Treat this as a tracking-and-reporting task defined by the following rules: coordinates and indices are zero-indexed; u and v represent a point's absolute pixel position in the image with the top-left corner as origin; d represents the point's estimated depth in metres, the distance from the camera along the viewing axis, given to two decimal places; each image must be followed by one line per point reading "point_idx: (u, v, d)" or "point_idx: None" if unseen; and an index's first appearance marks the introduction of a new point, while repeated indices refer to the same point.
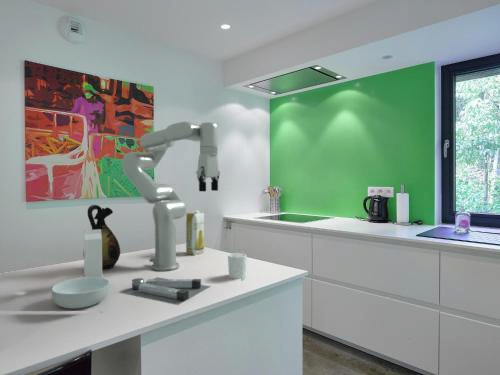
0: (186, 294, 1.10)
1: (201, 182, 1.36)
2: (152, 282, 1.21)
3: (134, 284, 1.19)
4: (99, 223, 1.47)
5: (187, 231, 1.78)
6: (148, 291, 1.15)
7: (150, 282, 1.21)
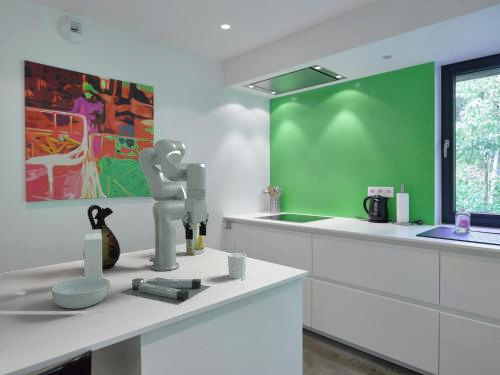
0: (186, 294, 1.10)
1: (187, 230, 1.24)
2: (152, 282, 1.21)
3: (134, 284, 1.19)
4: (99, 223, 1.47)
5: None
6: (148, 291, 1.15)
7: (150, 282, 1.21)
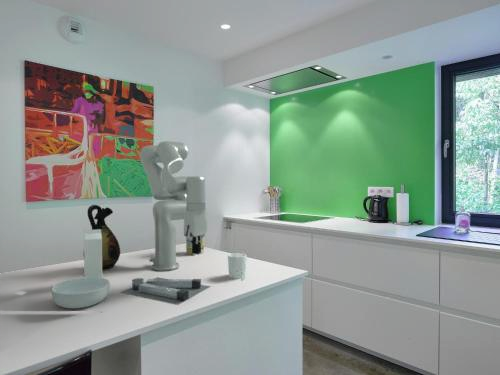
0: (186, 294, 1.10)
1: (194, 244, 1.28)
2: (152, 282, 1.21)
3: (134, 284, 1.19)
4: (99, 223, 1.47)
5: None
6: (148, 291, 1.15)
7: (150, 282, 1.21)
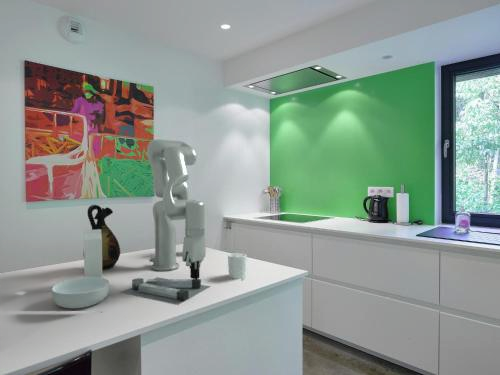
0: (186, 294, 1.10)
1: (193, 269, 1.28)
2: (152, 282, 1.21)
3: (134, 284, 1.19)
4: (99, 223, 1.47)
5: None
6: (148, 291, 1.15)
7: (150, 282, 1.21)
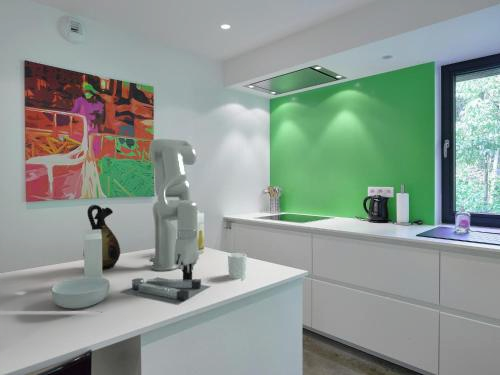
0: (186, 294, 1.10)
1: (185, 272, 1.24)
2: (152, 282, 1.21)
3: (134, 284, 1.19)
4: (99, 223, 1.47)
5: None
6: (148, 291, 1.15)
7: (150, 282, 1.21)
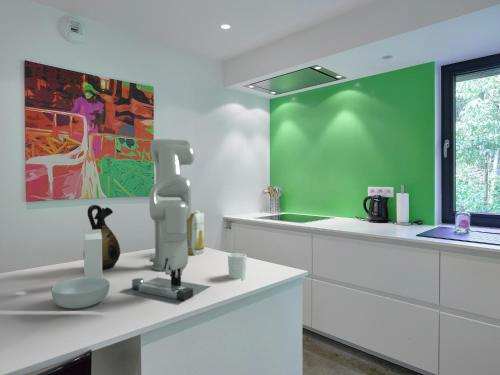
0: (186, 294, 1.10)
1: (173, 278, 1.17)
2: None
3: (132, 284, 1.19)
4: (99, 223, 1.47)
5: (187, 231, 1.78)
6: (148, 291, 1.15)
7: None
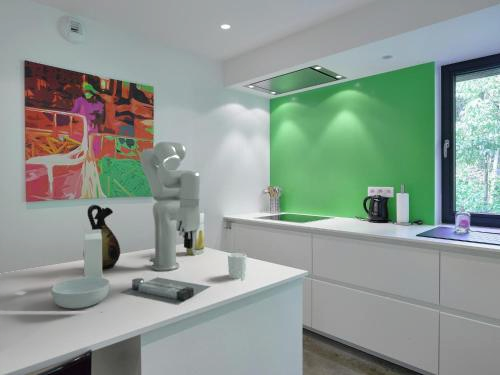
0: (186, 294, 1.10)
1: (186, 239, 1.30)
2: None
3: (132, 284, 1.19)
4: (99, 223, 1.47)
5: None
6: (148, 291, 1.15)
7: None
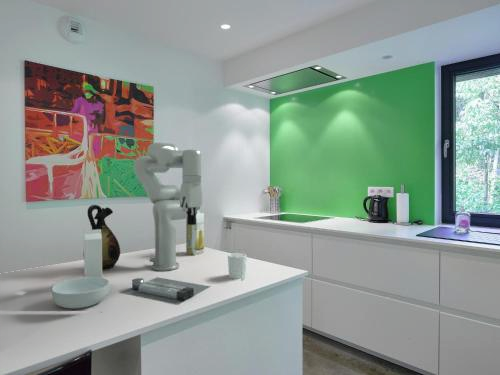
0: (186, 294, 1.10)
1: (189, 215, 1.33)
2: None
3: (132, 284, 1.19)
4: (99, 223, 1.47)
5: (187, 231, 1.78)
6: (148, 291, 1.15)
7: None
